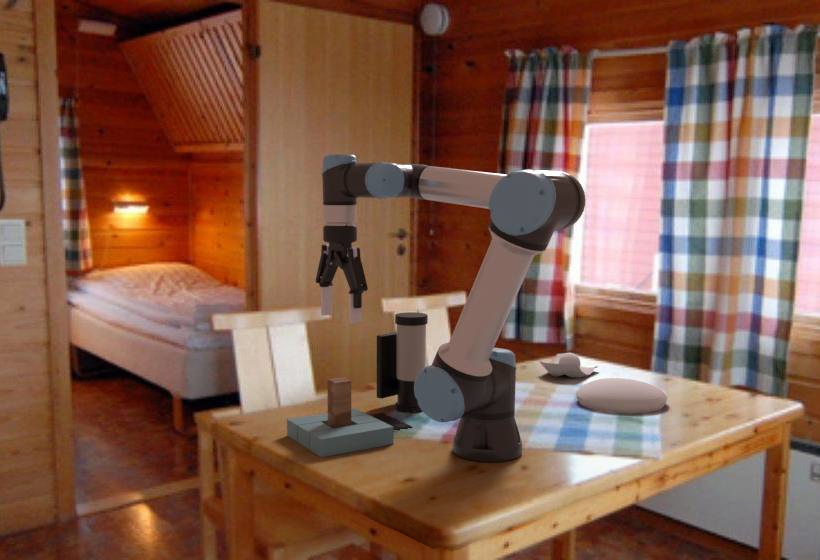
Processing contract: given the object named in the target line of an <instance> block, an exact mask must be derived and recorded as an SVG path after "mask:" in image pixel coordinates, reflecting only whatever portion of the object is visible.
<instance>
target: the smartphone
mask: <svg viewBox="0 0 820 560" xmlns="http://www.w3.org/2000/svg"><path fill="white" fill-rule="evenodd" d="M369 415H370V416H372V417H374V418H376V419H378V420H380V421H383V422H385V423H387V424H389V425H391V426H393V427H394V430H399V431H401V430H400V429H405V430H409V429H408V428H410V429H413V426H412V425H410V424H408V423H406V422H404V421H402V420H400V419H397V418H395V417H392V416H390V415H388V414H386V413H384V412H377V413H376V412H375V413H372V414H369Z"/></svg>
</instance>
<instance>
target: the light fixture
mask: <svg viewBox="0 0 820 560" xmlns="http://www.w3.org/2000/svg"><path fill="white" fill-rule="evenodd" d="M428 321H429V318H428V313H423V312H412V311H411V312H400V313H399V312H398V313H395V314H394V324H396V332H389V333H384V334H378V335H376V398H377V399H380V400H381V399H384V398H385V399H386V398H390V397H393V396H397V402H395V404H394V408H395V410H396V411H397V412H400V413H401V412H402V413H407V412H409V413H410V414H411V413H412V412H415V413H420V412H421V411H422V410H421V408H420V407H419V405H418V401H417V399H416V398H415V393H414V383H415V379H416V376H417V375H418V373H419V372H420V371H421V370H423V369H424V368H425V367H427V364H426V363H427V361H426V359H427V358H426V357H427V356H426V355H427V354H426V353H427V348H426V347H427V342H426V341H427V325H428ZM422 412H423V411H422Z"/></svg>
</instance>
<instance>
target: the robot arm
mask: <svg viewBox="0 0 820 560" xmlns="http://www.w3.org/2000/svg"><path fill="white" fill-rule="evenodd" d="M321 170H322V172H321V176H322V177H321V179H322V222H323V223H324V224H325V225H324V226H323V227H322V235H323V237H322V239H323V242H324V243H328V244H321V251H320V252H321V254H320V258H319V263H318V267H317V272H316V276H315V283H316V284H318V285H319V287H320V315H321V316H323V317H324V316H333V315H334V290H333V289H334V287H333V286H334V284H333V280H334V278H335V275H336V272H337V270H338V268H340V270H342V271H343V274H344V276H345V279H346V281H347V285H348V287H349V292H348V306H349V307H348V313H349V314H348V318H349V319H348V323H349V324H359V323H362V322H363V321H362V319H363V315H362V313H363V312H362V309H363V307H362V305H363V302H362V300H363V299H362V298H363V296H362V295H363V293H364V292H367V291H368V288H369V287H368V283H367V279H366V276H365V271H364V267H363V263H362V258H361V249H360V247H353V244H352V243H356V242H357V241H358V227H357V225H355V224H357V221H358V219H357V213H358V209H357V204H358V203H357V202H358V199H359V198H364V199H367V198H368V199H378V200H379V199H380V200H381V199H382V200H383V199H391V198H392V199H393V198H397V199H398V198H399V199H400V198H407V199H408V198H410V199H418V200H425V201H426V200H427V201H433V202H439V203H440V202H441V203H445V204H446V203H448V204H452V205H453V204H454V205H462V206H466V207H467V206H468V207H475V208H481V209H487V210H489V211H490V214H489V215H490V216H489V217H490V219H491V220H490V223H489V225H488V230H489V233H490V235H491V237H492V239H491V242H490V244H489V246H488V248H487V251H486V252H485V253H486V254H485V256H484V258H483V260H482V263H481V265H480V268H479V270H478V273H477V275H476V277H475V281H474V282H473V285H472V287H471V289H470V292H469V294H468V296H467V299H466V301H465V303H464V305H463V308H462V310H461V313H460V315H459V318H458V321H457V322H456V325H455V328H454V330H453V332H452V335H451V337H450V339H449V342H445V343H443V344H440V346H439V347H438V349H437V351H436V354H435V356H434V358H433V361H432V364H431V365H428V366H426V367H425V368H424V369H423V370H421V371H420V372H419V373H418V375H417V376H416V379H415V383H414V393H415V398H416V399H417V401H418V405H419V407H420V408H421V410H422V412H423V413H424V415H425V416H427V417H428V418H429V419H431V420H432V421H434V422H437V423H449V422H457V421H458V420H459V422H458V425H457V428H456V432H455V435H454V436H453V440H452V452H453V453H454V454H455V455H456V456H458V457H460V458H463V459H466V460H470V461H473V462H474V461H475V462H485V463H494V462H495V463H496V462H497V463H498V462H506V461H511V460H514V459H517V458H519V457H521V456H522V454H523V441H522V438H521V435H520V432H519V431H520V430H519V429H518V425H517V422H516V418H515V417H516V416H515V415H516V378H517V377H516V375H517V365H516V355H515V353H514V352H513V351H512V350H510V349H505V348H499V347H495V346H496V343H497V341H498V339H499V336H500V334H501V332H502V329H503V328H504V326H505V323H506V320H507V319H508V316H509V314H510V311H511V309H512V308H513V304H514V303H515V301H516V297H517V296H518V293H519V291H520V289H521V286H522V285H523V282H524V280H525V278H526V276H527V274H528V271H529V269H530V266H531V264H532V262H533V259H534V257H535V256H537V255H540V254H541V253H544V252H546V250H547V248H548V246H549V243H550V242H551V239H552V236H553V235H554V232H559V231H563V230H565V229H569V228H570V227H572V226H574V225H575V224H576V223H577V222H578V221H579V219H580V218H581V216H583V214H584V211H585V207H586V194H585V193H586V192H585V190H584V188H583V186H582V184H581V182H580V181H579V180H578V179H577V178H576V177H575V176H573V175H572V174H569V173H568V172H564V171H560V170H537V169H532V168H529V169H528V168H527V169H526V168H525V169H522V170H517V171H513V172H510V173H508V174H504V173H494V172H485V171H478V170H470V169H469V170H467V169H458V168H451V167H442V166H441V167H440V166H430V165H426V164H423V163H393V162H388V161H378V162H359V163H358V162H357V156H356V155H355V154H349V153H348V154H345V153H343V154H342V153H340V154H339V153H338V154H337V153H334V154H333V153H331V154H326V155H325V156H323V158H322V169H321Z"/></svg>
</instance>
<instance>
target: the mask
mask: <svg viewBox="0 0 820 560" xmlns="http://www.w3.org/2000/svg"><path fill="white" fill-rule="evenodd" d="M538 362H539V363H540V365H541V366H542V367H543V368H544V369H545V370H546V371H547V373H549V374H550V375H551V376H553V377H558V378H559V377H561V376H564V375H566V376H567V377H570V378H586V377H589V376H590V375H591V374H592V373H593V372H594V370H595V369H597V368H598V366H597V365H596V366H593V367H587V366H586V367H585V366H582V365H581V360H580V357H579V356H578V355H577V354H575V353H573V352H564V353H556V354H555V359H554V361H553V363H551V362H544V361H540V360H539V361H538Z"/></svg>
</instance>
